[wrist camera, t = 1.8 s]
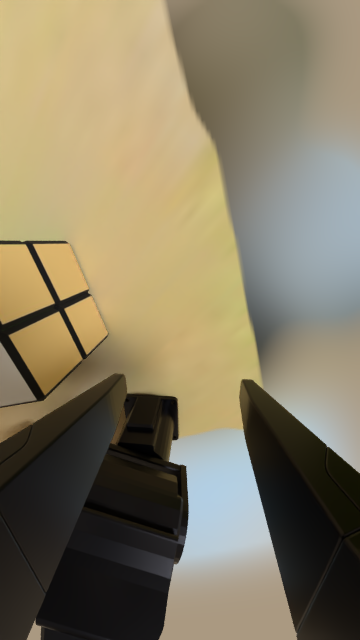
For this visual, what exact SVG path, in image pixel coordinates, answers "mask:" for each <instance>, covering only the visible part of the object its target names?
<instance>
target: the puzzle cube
mask: <svg viewBox="0 0 360 640" xmlns="http://www.w3.org/2000/svg"><path fill="white" fill-rule="evenodd" d="M88 290H89V288H88V285H87V283H86V281H85V278H84V276H83V274H82V271H81V269H80V267H79V265H78V262H77V260H76V258H75V255H74V253H73V251H72V248H71V246H70V244H69V243H67V242H66V241H25V242H21V241H0V408H2V407H8V406H14V405H20V404H26V403H32V402H37V401H43V400H44V399H45V398H46V397H47V396H48V395H49V394H50V393H51V392H52V391H53V390H54V389H55V388H56V387H57V386H58V385H59V384H60V383H61V382H62V381H63V380H64V379H65V378H66V377H67V376H68V375H69V374H70V373H71V372H72V371H73V370H75V369H76V368H77V367H78V366H79V365H80V364H81V362H82V360H83V359H86V358H87V357H88V356H89V355H90V354H91V353H92V352H93V351H94V350H95V349H96V348H97V347H98V346H99V345H100V344H101V343H102V342H103V341H104V340H105V339H106V338H107V336H108V332H107V330H106V327H105V325H104V323H103V320H102V318H101V316H100V313H99V311H98V309H97V306H96V304H95V302H94V300H93V297H92V295H90V294H88Z"/></svg>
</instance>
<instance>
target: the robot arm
mask: <svg viewBox="0 0 360 640" xmlns="http://www.w3.org/2000/svg"><path fill="white" fill-rule="evenodd" d="M128 399H129V400H128ZM239 399H240V407H241V414H242V421H243V428H244V434H245V440H246V444H247V448H248V451H249V456H250V460H251V464H252V467H253V471H254V475H255V479H256V483H257V486H258V490H259V494H260V498H261V502H262V505H263V509H264V513H265V517H266V521H267V525H268V528H269V532H270V536H271V540H272V543H273V547H274V551H275V555H276V559H277V563H278V567H279V570H280V574H281V578H282V582H283V586H284V590H285V594H286V597H287V601H288V605H289V609H290V613H291V616H292V620H293V624H294V627H295V631H296V633H297V640H360V473H359V472H357V471H356V470H355V469H354V468H353V467H352V466H350V465H349V464H348V463H347V462H346V461H344V460H343V459H342V458H341V457H340V456H339V455H337V454H336V453H335V452H334V451H333V450H332V449H331V448H329V447H327V446H326V444H325V443H323V442H322V441H321V440H320V439H319V438H318V437H317V436H316V435H315V434H313V433H312V432H311V431H310V430H309V429H308V428H307V427H305V426H304V425H303V424H302V423H301V422H300V421H299V420H297V419H296V418H295V417H294V416H293V415H292V414H291V413H289V412H288V411H287V410H286V409H285V408H284V407H283V406H282V405H280V404H279V403H278V402H277V401H276V400H274V399H273V398H272V397H271V396H270V395H269V394H268V393H267V392H266V391H264V390H263V389H262V388H261V387H260V386H259V385H258V384H256V383H255V382H254V381H253V380H248V379H243V380H242V381H241V386H240V396H239ZM172 401H174V402H172ZM123 405H124V408H125V415H126V421H125V424H124V426H123V428H122V431H121V433H120V435H119V438H118V440H117V443H116V445H115V444H112V443H110V442H111V440H112V438H113V435H114V433H115V430H116V427H117V424H118V421H119V418H120V415H121V412H122V408H123ZM178 437H179V427H178V400H177V398H175V397H163V396H145V395H127V385H126V378H125V375H124V374H113V375H112V376H110V377H108V378H107V379H105V380H103V381H102V382H100V383H99V384H97V385H95V386H94V387H92V388H90V389H89V390H87V391H86V392H84V393H82V394H81V395H79V396H77V397H76V398H74V399H72V400H71V401H69V402H68V403H66V404H64V405H63V406H61V407H59V408H58V409H56V410H54V411H53V412H51V413H49V414H48V415H46V416H45V417H43V418H41V419H40V420H38V421H36V422H35V423H33V425H30V426H28V427H27V428H25V429H23V430H22V431H20V432H18V433H17V434H15V435H13V436H12V437H10V438H8V439H7V440H5V441H3V442H1V443H0V640H27V637H28V635H29V633H30V630H31V628H32V625H33V623H34V621H35V619H36V625H38V626H41V640H158V639H159V637H160V635H161V633H162V630H163V627H164V620H165V613H166V606H167V599H168V591H169V586H170V581H171V576H172V571H173V565H174V564H177V563H178V562H179V560H180V558H181V555H182V552H183V548H184V544H185V539H186V533H187V526H188V491H187V473H186V466H184V465H177V464H174V463H171V462H169V457H170V450H171V443H172V440H177V439H178Z"/></svg>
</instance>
